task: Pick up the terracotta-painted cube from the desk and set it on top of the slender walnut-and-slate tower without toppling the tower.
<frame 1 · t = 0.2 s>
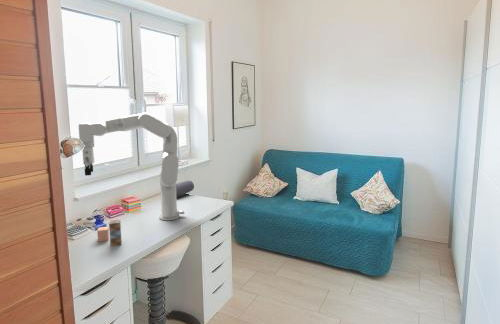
hand: (89, 173, 211), 31 cm above the table, fingers open, 9 cm apart
tower: (116, 243, 189), on the table
terracotta cube: (103, 239, 194), on the table
bluetooth speaker: (180, 195, 280), on the table
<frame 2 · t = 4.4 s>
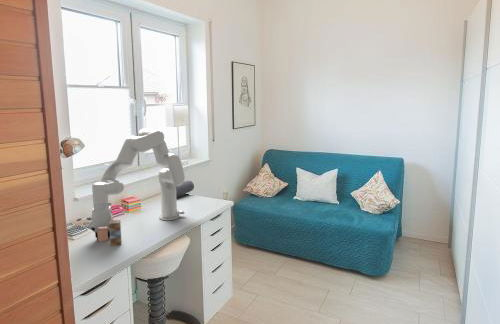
hand: (103, 237, 194), 1 cm above the table, fingers closed on terracotta cube, 5 cm apart
terracotta cube: (103, 239, 194), on the table, touching gripper
everything else where it was.
when the fingers open (14 cm above the table, at t = 9.2 s): terracotta cube stays where it is, resting on tower.
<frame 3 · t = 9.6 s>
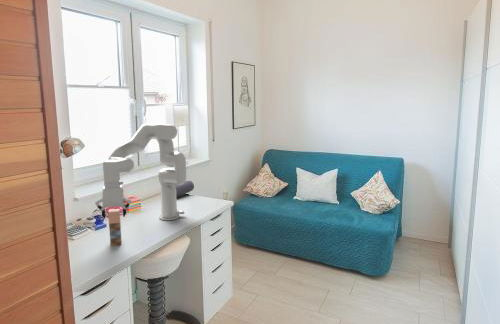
hand: (114, 216, 186), 15 cm above the table, fingers open, 9 cm apart
tower: (116, 243, 189), on the table, touching terracotta cube
terracotta cube: (114, 221, 186), point 12 cm above the table, touching tower
everything else where it was.
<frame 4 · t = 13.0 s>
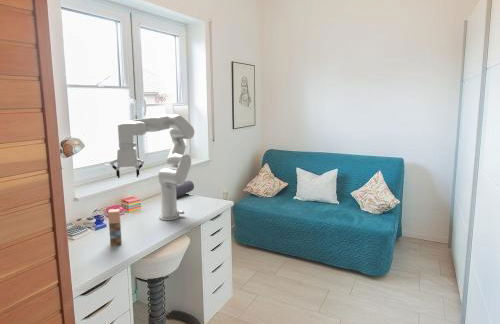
hand: (128, 177, 197), 32 cm above the table, fingers open, 9 cm apart
nothing on the table moved.
at the end: terracotta cube 0.0 cm off-centre on the tower, point 12.0 cm above the tower's base; terracotta cube tilted 0°; tower tilted 0° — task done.
